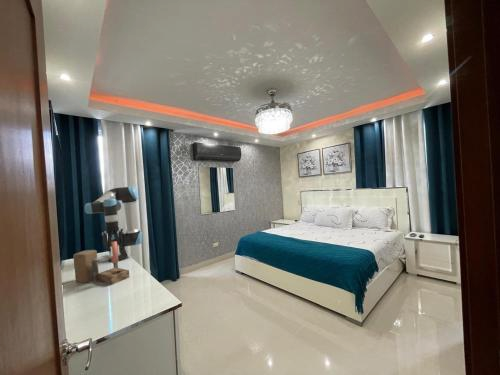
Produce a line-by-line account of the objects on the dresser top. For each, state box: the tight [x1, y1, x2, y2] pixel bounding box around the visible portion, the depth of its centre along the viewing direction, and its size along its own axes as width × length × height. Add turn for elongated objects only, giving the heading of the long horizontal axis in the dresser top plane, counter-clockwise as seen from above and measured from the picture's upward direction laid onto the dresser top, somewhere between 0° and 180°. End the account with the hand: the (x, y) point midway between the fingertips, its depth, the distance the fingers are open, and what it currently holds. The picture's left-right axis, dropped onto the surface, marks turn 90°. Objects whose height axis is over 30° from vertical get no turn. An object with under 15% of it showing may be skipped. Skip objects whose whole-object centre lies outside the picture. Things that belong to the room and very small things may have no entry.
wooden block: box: [73, 249, 100, 284], centre depth 156 cm, size 10×10×20 cm
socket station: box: [92, 253, 130, 285], centre depth 155 cm, size 16×19×16 cm
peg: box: [111, 241, 119, 264], centre depth 152 cm, size 4×4×14 cm
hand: (114, 254), depth 152 cm, fingers closed on peg, 4 cm apart
